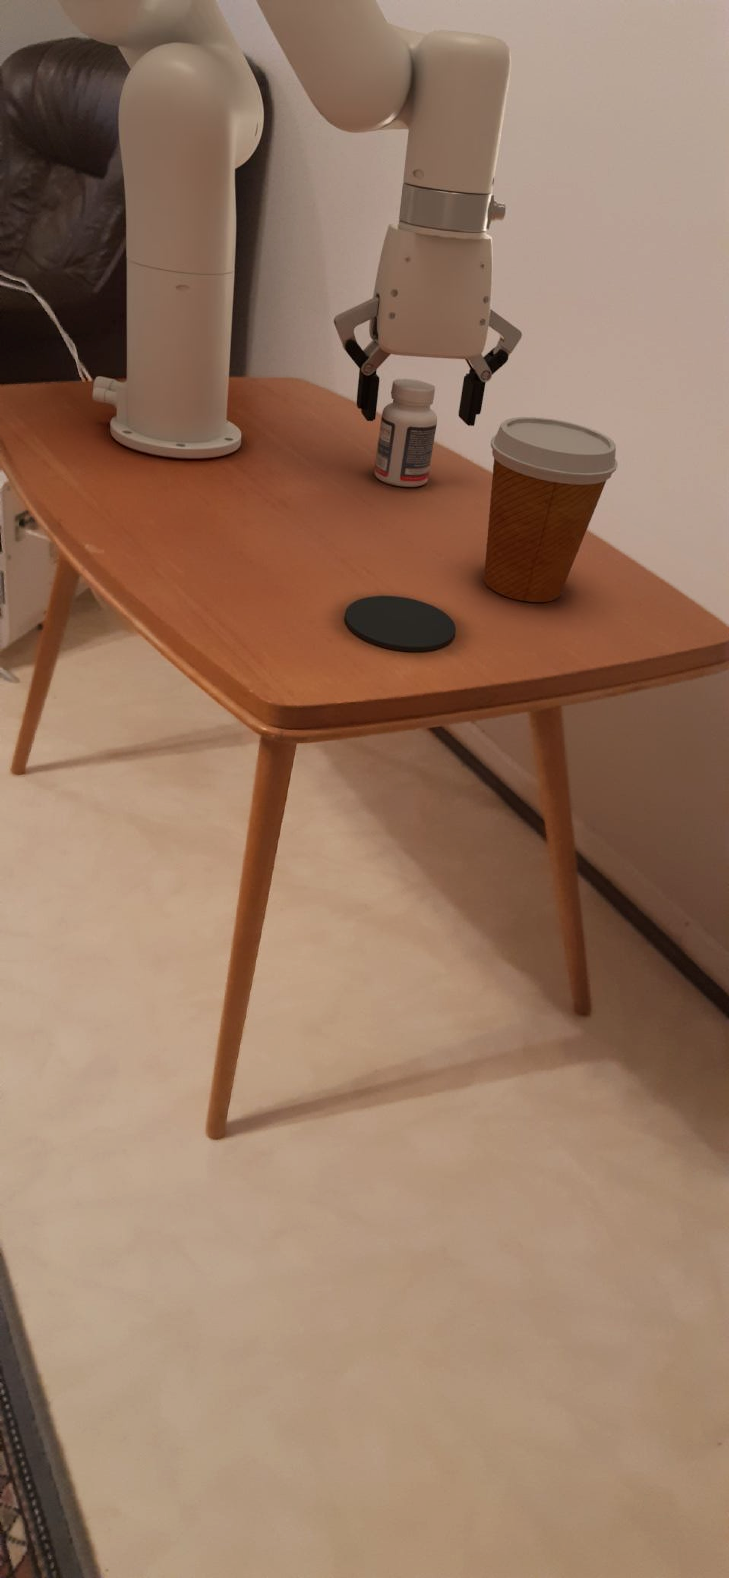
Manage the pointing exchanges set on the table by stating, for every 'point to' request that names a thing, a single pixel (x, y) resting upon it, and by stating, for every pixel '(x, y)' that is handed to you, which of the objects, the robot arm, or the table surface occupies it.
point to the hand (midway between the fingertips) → (417, 419)
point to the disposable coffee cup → (542, 503)
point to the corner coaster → (400, 623)
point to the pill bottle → (407, 434)
